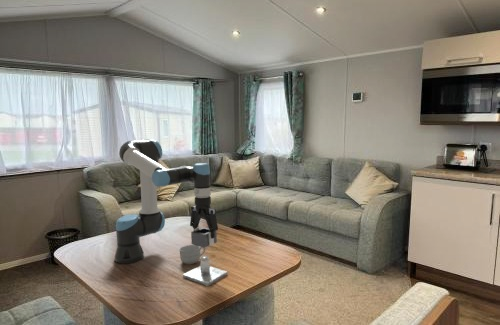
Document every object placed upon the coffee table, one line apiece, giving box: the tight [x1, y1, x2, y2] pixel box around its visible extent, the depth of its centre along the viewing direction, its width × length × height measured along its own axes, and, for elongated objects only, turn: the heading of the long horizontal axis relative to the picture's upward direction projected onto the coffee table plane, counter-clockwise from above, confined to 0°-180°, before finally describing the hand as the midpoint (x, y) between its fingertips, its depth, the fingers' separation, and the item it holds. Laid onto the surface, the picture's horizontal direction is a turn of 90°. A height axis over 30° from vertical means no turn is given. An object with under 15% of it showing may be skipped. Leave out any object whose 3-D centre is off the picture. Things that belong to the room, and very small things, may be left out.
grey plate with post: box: [182, 255, 228, 287], centre depth 162 cm, size 16×14×10 cm
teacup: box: [179, 244, 207, 265], centre depth 179 cm, size 14×11×8 cm
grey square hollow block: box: [190, 226, 218, 249], centre depth 160 cm, size 8×8×6 cm
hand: (204, 242), depth 160 cm, fingers closed on grey square hollow block, 8 cm apart
